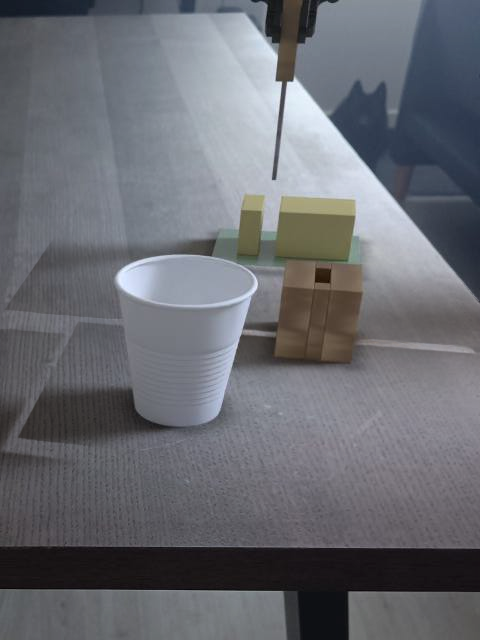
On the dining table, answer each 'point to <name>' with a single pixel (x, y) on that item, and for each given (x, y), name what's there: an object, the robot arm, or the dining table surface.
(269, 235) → the board
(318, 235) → the butter block
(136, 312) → the cup
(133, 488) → the dining table surface
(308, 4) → the robot arm
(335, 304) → the knife holder
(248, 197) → the butter pat
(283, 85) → the knife
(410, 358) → the dining table surface
